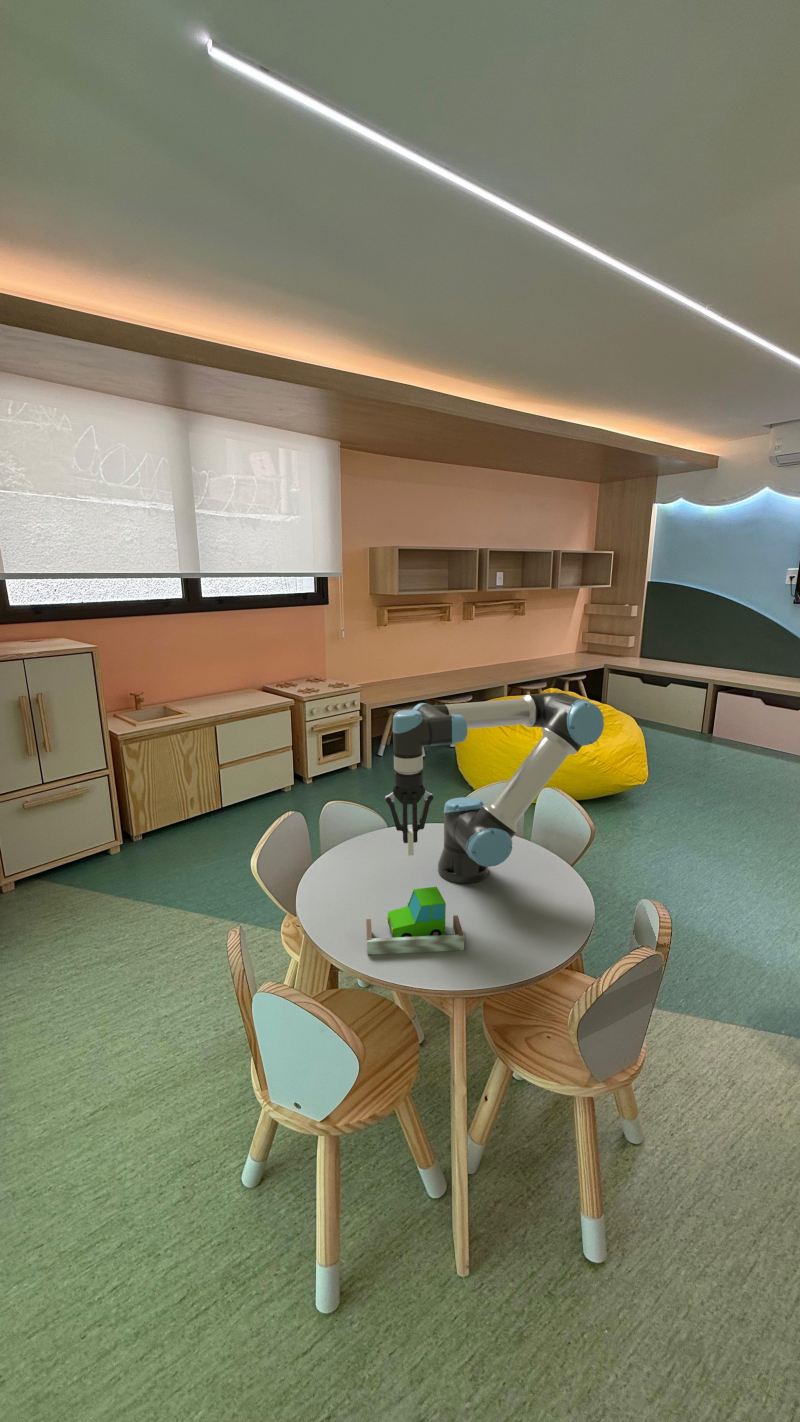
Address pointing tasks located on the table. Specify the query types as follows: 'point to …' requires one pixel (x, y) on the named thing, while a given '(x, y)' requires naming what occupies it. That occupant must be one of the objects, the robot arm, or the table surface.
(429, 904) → the toy car
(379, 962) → the table surface
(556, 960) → the table surface
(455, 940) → the bay
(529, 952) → the table surface
